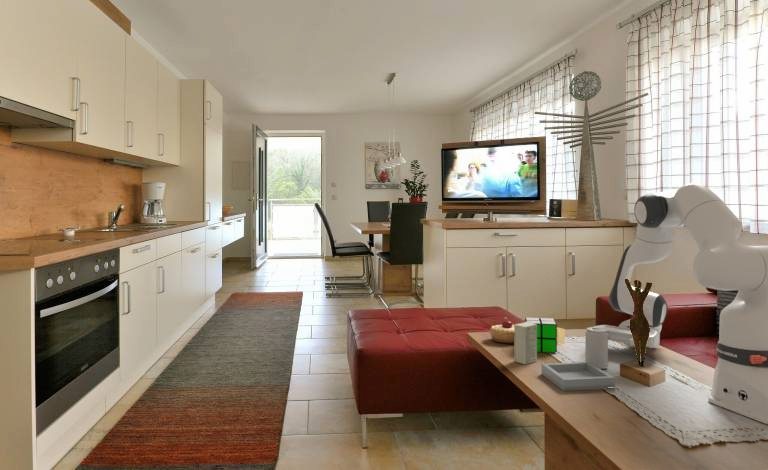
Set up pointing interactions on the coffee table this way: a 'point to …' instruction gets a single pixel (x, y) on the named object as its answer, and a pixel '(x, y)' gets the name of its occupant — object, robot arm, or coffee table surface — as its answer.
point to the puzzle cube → (545, 334)
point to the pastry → (503, 332)
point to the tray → (577, 376)
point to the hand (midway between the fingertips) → (614, 339)
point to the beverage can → (596, 347)
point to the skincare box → (525, 342)
